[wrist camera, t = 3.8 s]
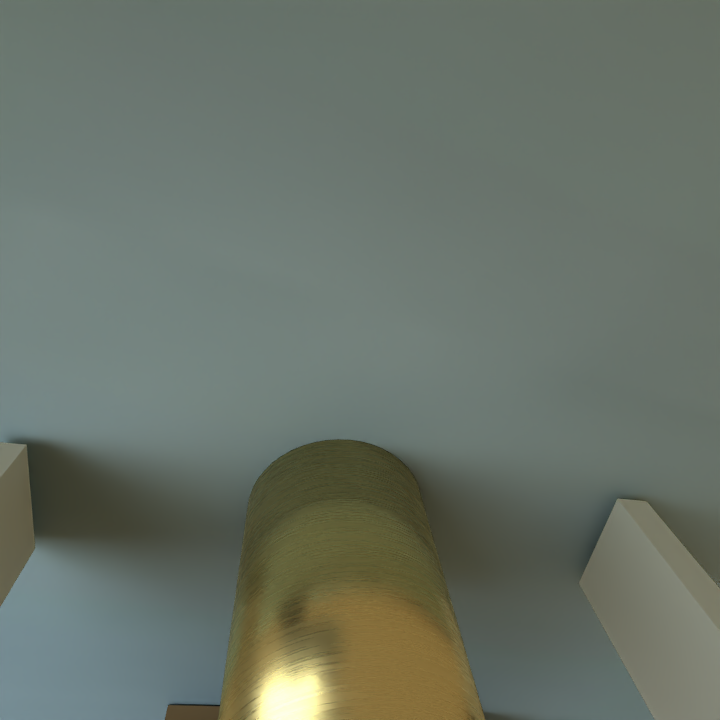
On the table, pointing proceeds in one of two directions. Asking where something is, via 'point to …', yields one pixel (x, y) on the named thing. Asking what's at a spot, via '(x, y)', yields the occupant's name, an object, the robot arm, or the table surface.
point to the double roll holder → (192, 712)
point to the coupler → (343, 597)
